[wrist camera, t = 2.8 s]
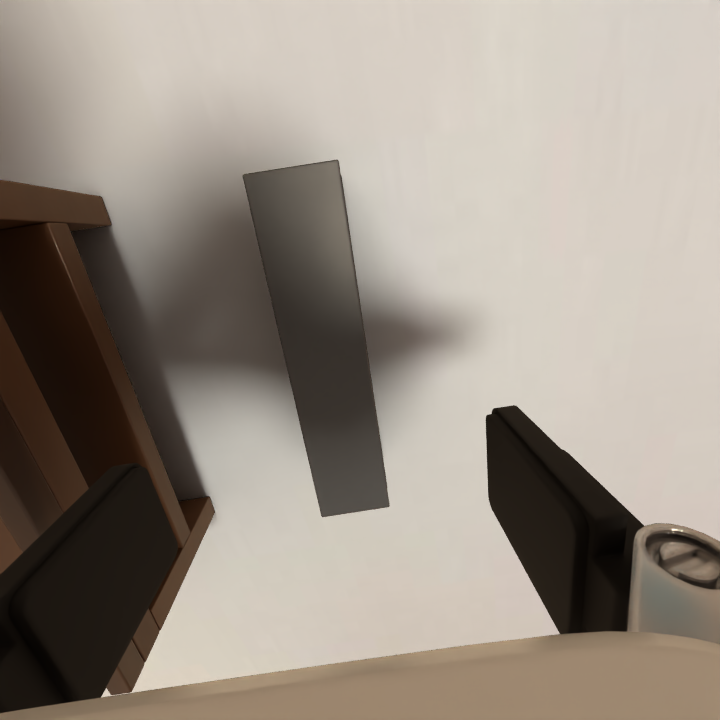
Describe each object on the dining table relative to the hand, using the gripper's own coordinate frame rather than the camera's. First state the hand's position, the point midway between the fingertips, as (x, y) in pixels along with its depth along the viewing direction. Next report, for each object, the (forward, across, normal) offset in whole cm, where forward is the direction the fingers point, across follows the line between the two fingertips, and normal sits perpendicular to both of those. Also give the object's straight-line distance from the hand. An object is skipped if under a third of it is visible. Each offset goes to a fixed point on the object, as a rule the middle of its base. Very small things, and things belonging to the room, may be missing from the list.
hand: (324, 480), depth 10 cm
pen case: (+14, 0, 0) cm, 14 cm away
